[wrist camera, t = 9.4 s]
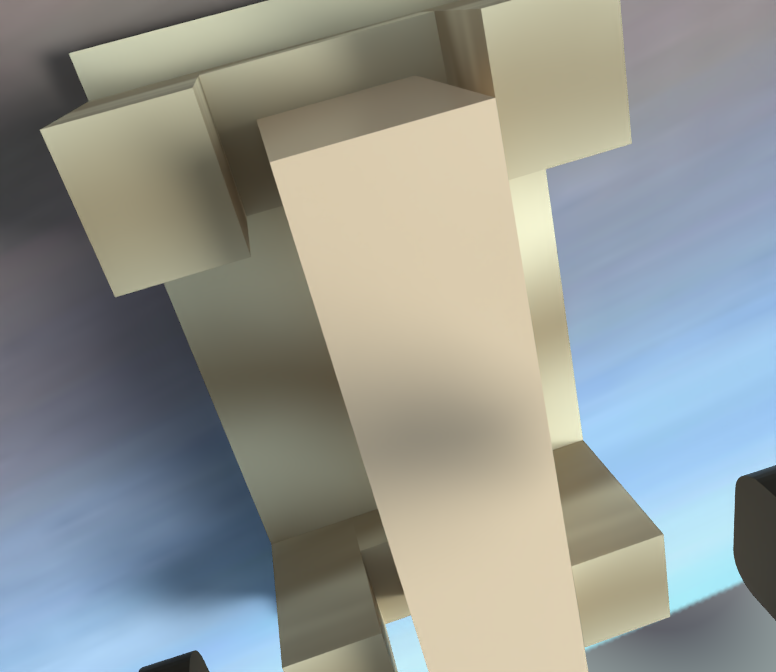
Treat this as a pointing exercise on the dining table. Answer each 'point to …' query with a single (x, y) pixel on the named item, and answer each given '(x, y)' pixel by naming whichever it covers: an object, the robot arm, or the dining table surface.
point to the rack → (288, 282)
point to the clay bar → (436, 362)
